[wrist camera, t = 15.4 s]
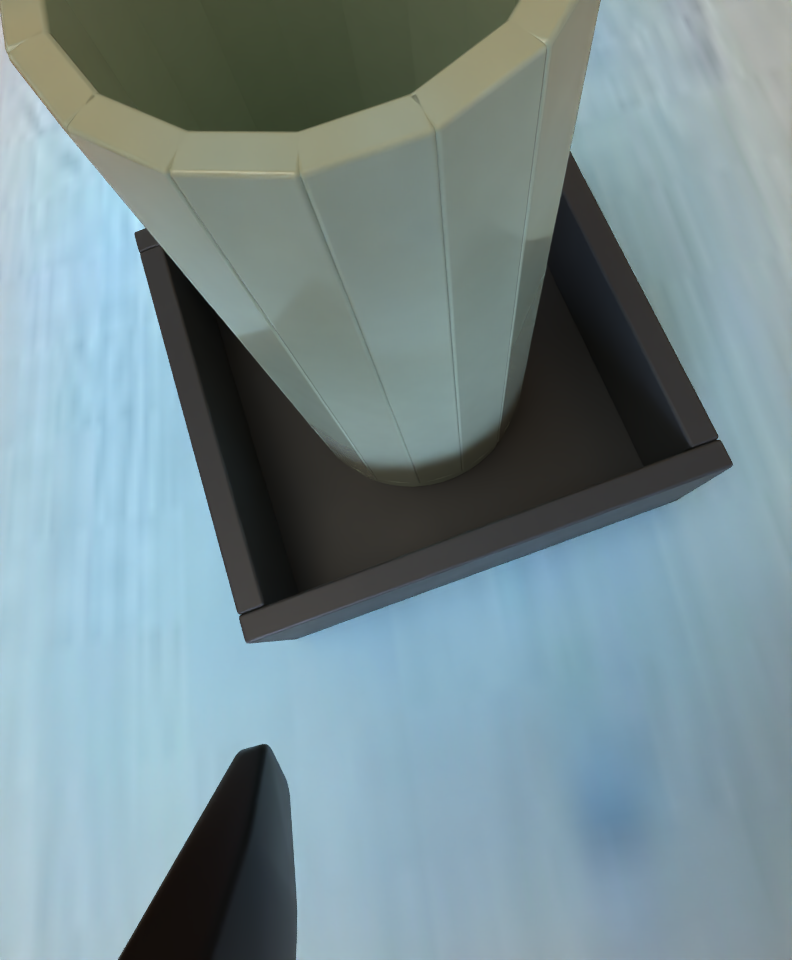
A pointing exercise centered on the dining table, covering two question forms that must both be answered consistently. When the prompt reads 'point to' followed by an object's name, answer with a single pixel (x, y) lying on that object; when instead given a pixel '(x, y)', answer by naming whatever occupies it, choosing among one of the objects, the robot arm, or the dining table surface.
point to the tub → (458, 501)
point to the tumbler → (339, 189)
